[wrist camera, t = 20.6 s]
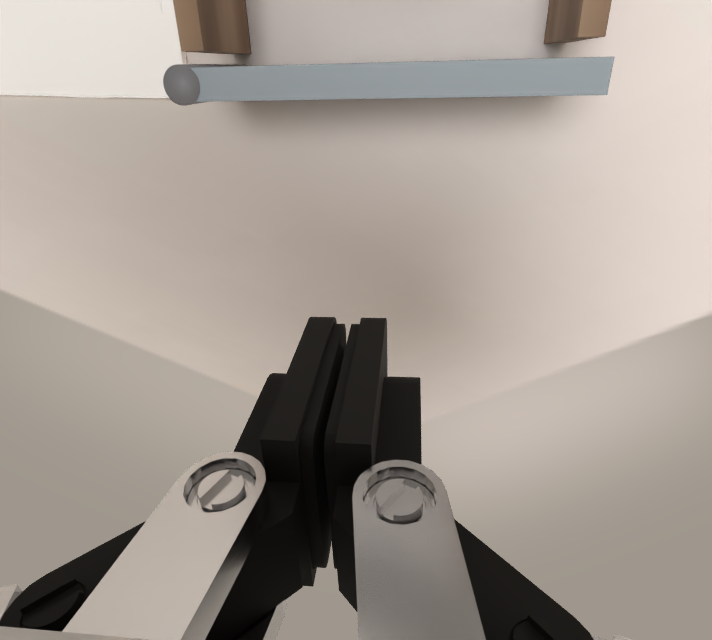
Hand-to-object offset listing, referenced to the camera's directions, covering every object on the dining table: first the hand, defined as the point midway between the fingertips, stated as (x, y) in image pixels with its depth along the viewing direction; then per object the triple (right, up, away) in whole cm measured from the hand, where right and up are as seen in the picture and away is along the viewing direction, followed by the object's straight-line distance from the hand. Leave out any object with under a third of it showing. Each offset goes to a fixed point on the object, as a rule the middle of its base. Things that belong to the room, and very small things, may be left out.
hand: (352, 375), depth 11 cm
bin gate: (+2, +11, +10) cm, 15 cm away
